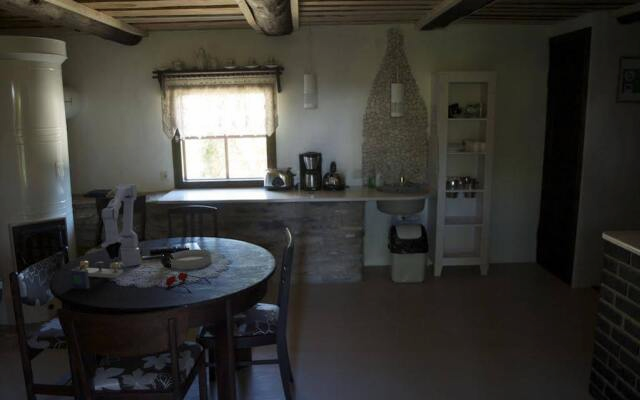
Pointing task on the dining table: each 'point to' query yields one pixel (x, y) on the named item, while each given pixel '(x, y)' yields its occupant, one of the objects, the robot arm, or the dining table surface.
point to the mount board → (103, 272)
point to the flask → (80, 278)
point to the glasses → (182, 277)
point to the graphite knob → (99, 264)
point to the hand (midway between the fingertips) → (114, 257)
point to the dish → (190, 259)
